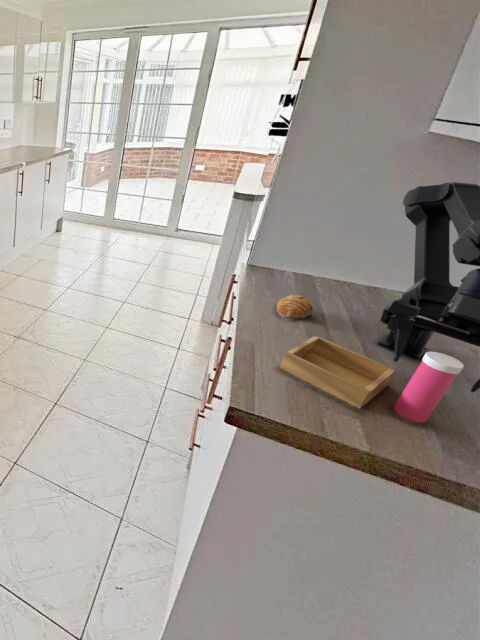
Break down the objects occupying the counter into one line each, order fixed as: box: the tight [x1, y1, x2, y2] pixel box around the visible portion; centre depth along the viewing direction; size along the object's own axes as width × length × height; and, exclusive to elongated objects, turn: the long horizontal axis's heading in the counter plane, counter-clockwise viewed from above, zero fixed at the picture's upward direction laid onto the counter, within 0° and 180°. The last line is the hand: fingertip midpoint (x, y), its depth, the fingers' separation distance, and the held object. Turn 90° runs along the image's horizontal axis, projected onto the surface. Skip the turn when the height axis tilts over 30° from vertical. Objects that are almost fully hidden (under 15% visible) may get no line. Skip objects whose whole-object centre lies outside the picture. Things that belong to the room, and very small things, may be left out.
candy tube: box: [393, 351, 465, 423], centre depth 67 cm, size 4×4×12 cm
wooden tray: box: [279, 335, 397, 409], centre depth 77 cm, size 13×13×4 cm
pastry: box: [276, 294, 314, 320], centre depth 100 cm, size 9×7×4 cm
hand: (432, 375), depth 69 cm, fingers open, 9 cm apart
